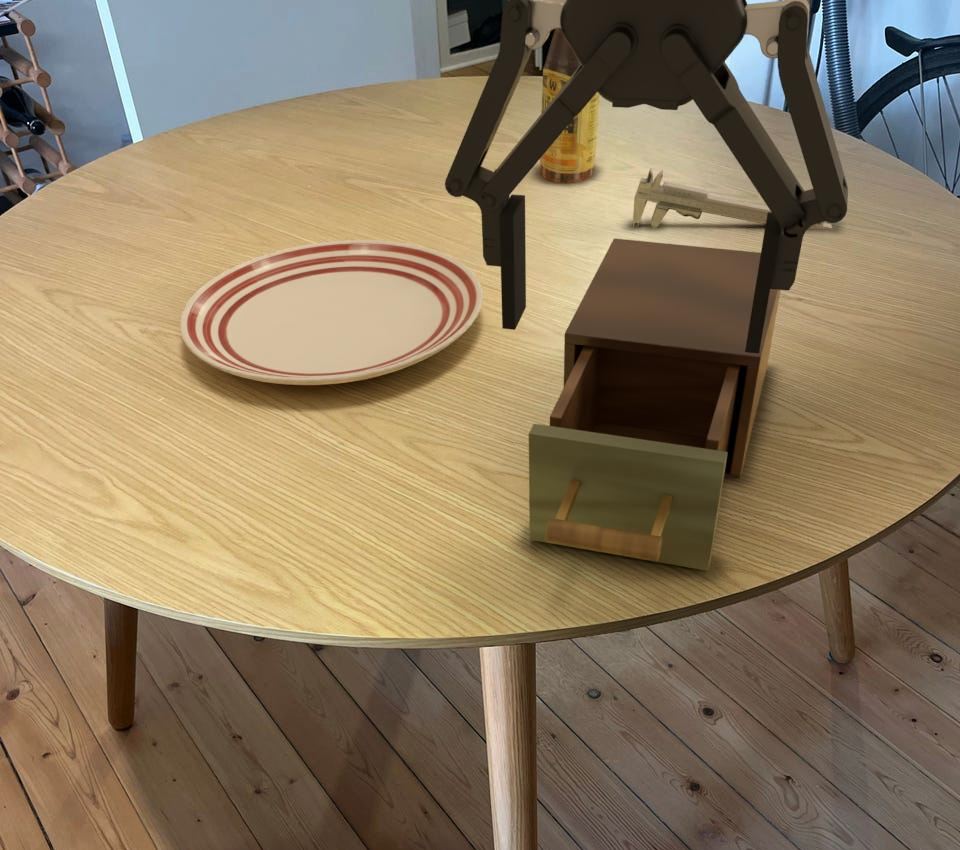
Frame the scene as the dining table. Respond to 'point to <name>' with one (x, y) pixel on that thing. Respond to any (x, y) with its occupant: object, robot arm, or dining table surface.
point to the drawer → (635, 456)
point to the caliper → (694, 203)
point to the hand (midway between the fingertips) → (631, 329)
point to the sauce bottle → (578, 141)
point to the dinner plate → (331, 312)
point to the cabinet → (679, 316)
